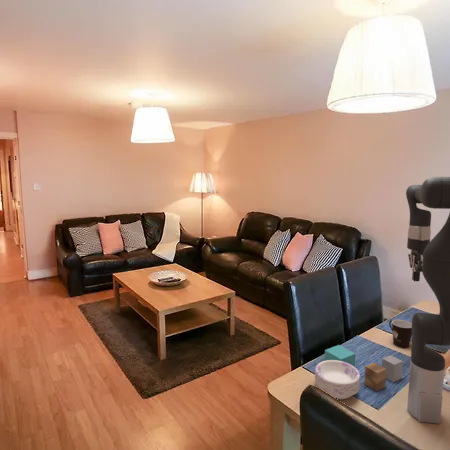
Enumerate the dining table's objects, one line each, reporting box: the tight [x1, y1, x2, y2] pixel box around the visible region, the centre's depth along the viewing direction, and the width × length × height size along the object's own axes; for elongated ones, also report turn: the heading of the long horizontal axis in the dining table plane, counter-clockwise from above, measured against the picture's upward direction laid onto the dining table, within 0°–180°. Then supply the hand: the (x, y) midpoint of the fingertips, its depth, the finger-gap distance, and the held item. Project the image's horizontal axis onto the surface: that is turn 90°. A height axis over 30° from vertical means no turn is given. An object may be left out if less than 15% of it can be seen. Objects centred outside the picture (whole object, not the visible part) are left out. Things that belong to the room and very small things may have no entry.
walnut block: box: [363, 362, 387, 392], centre depth 123 cm, size 5×5×7 cm
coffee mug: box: [388, 319, 412, 349], centre depth 153 cm, size 12×9×10 cm
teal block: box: [324, 344, 356, 368], centre depth 132 cm, size 8×8×8 cm
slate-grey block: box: [381, 354, 404, 383], centre depth 128 cm, size 5×5×7 cm
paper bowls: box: [314, 360, 361, 400], centre depth 120 cm, size 15×15×8 cm
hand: (415, 280), depth 132 cm, fingers closed
